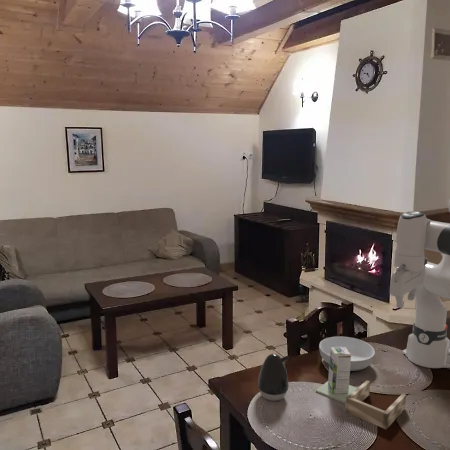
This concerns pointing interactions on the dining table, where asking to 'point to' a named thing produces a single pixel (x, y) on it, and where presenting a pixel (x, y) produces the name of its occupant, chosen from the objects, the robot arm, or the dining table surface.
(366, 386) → the holder bay
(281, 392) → the pump dispenser
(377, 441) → the dining table surface
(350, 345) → the serving bowl
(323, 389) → the sage mat
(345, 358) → the syrup box
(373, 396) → the dining table surface
